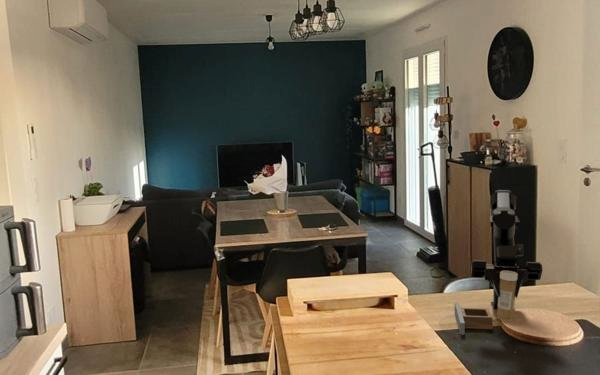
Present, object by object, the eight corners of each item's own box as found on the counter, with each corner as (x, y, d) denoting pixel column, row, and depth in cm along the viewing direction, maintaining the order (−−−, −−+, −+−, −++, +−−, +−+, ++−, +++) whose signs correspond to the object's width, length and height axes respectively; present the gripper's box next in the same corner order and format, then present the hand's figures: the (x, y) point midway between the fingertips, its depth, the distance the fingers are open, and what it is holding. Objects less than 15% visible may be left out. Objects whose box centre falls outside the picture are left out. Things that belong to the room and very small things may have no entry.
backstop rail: (454, 312, 176) (454, 301, 176) (458, 312, 176) (458, 302, 176) (460, 334, 157) (460, 322, 156) (464, 334, 156) (464, 323, 156)
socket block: (460, 318, 170) (460, 307, 170) (488, 319, 169) (488, 308, 168) (462, 327, 162) (462, 316, 162) (492, 329, 160) (492, 317, 160)
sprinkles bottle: (516, 319, 153) (521, 273, 152) (506, 322, 151) (511, 275, 149) (502, 314, 157) (506, 269, 155) (492, 317, 154) (496, 271, 153)
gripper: (471, 232, 157) (472, 280, 148) (542, 234, 152) (547, 283, 143) (470, 253, 166) (471, 300, 156) (537, 255, 161) (542, 303, 151)
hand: (507, 296), depth 152 cm, fingers closed on sprinkles bottle, 4 cm apart
